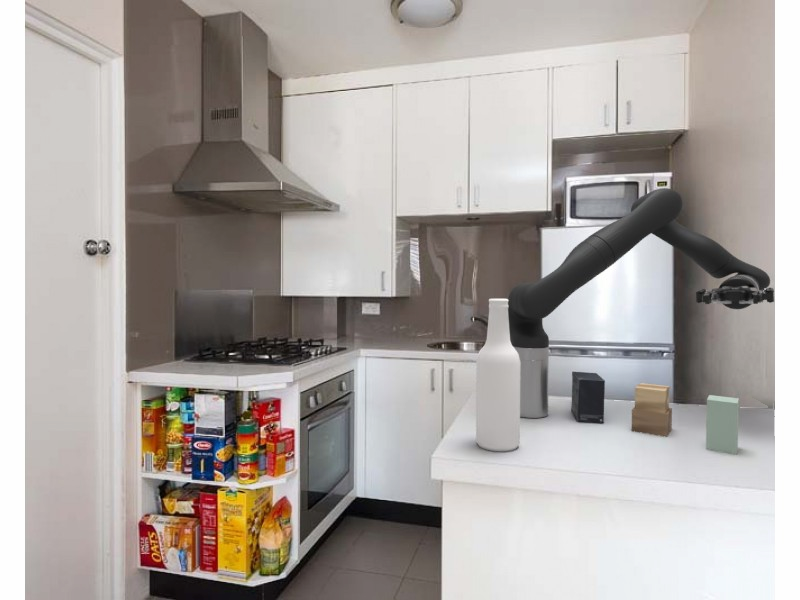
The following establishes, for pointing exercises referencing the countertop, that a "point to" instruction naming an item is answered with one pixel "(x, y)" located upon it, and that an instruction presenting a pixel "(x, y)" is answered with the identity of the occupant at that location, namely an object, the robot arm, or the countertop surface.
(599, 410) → the small box
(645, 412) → the walnut block
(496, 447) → the alcohol
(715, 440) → the sage pillar
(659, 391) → the oak block
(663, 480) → the countertop surface
